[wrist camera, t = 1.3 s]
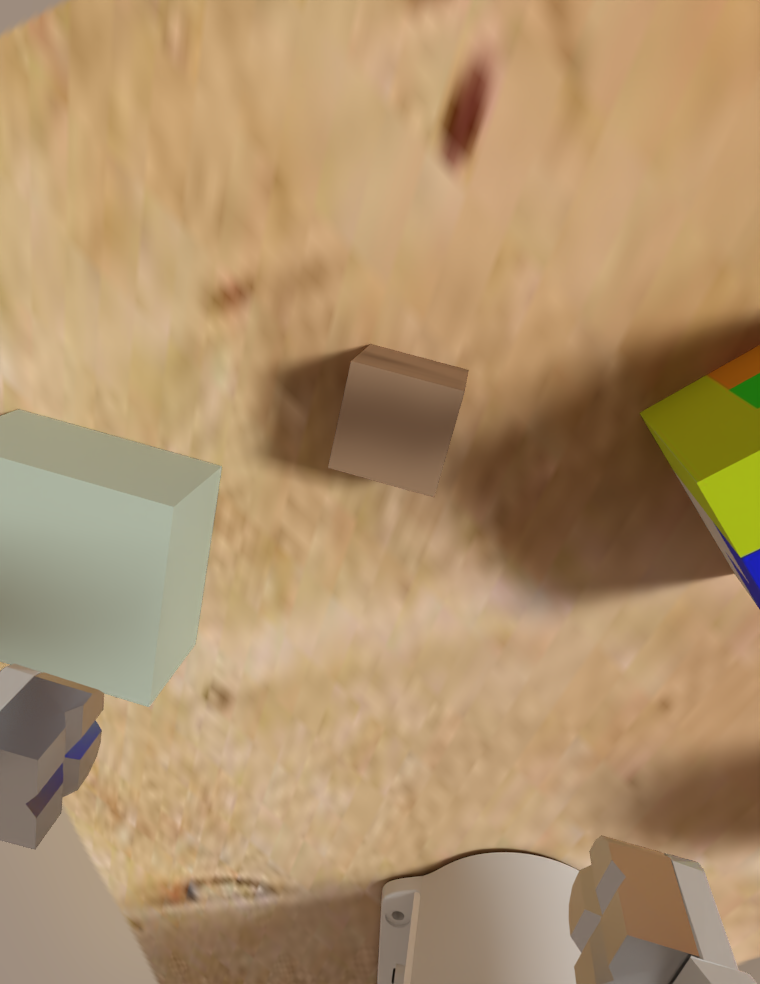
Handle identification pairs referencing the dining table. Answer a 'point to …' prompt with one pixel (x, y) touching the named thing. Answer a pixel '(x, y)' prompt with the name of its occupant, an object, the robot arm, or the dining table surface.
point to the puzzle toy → (719, 457)
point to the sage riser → (100, 555)
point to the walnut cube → (397, 419)
